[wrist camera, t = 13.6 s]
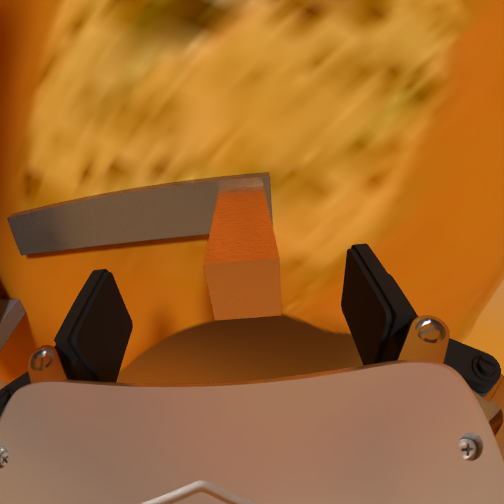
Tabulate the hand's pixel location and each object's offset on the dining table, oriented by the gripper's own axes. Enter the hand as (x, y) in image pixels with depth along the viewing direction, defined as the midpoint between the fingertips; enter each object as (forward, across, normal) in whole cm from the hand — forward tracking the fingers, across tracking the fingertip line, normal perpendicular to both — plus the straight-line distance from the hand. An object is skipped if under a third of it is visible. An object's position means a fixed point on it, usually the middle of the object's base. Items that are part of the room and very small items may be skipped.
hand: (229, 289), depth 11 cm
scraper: (+12, +9, +1) cm, 15 cm away
